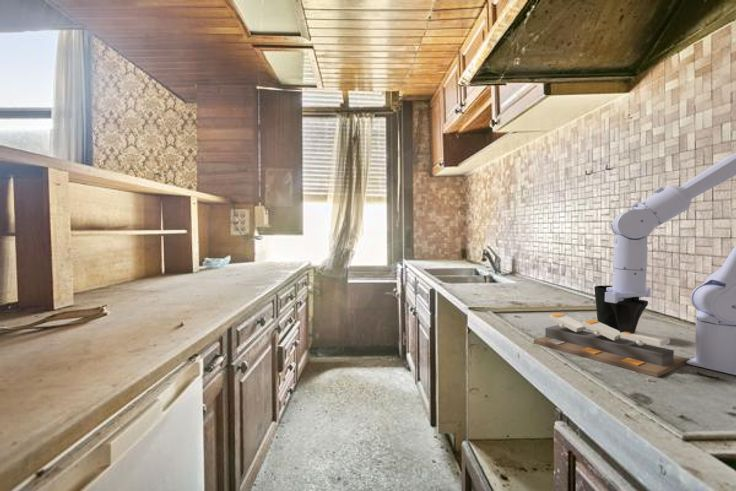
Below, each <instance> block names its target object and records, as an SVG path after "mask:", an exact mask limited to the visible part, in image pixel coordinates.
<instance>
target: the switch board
mask: <svg viewBox="0 0 736 491" xmlns="http://www.w3.org/2000/svg"><path fill="white" fill-rule="evenodd" d="M544 329H545V331H544V332H545V335H544V336H543V337H540V338H536V339H533V344H535V345H539V346H543V347H546V348H550V349H554V350H557V351H561V352H565V353H569V354H572V355H576V356H579V357H583V358H587V359H590V360H594V361H597V362H601V363H604V364H608V365H611V364H612V366H615V365H617V366H616V367H619V366H620V367H619V368H622V367H623V369H626V368H627V369H626V370H629V369H630V371H633V370H634V371H633V372H638V373H641V374H645V375H648V376H651V377H655V378H658V377H661V376H663V375H665V374H667V373H669V372H672V371H674V370H676V369H678V368H680V367H682V366H685V365H688V364H687V363H686V361H688V360H690V358H689V357H685V356H684V357H683V356H680V355H675V354H674V353H675V352H674V351H675V350H674V349H671V348H666V347H662V346H661V347H660V346H656V345H651V344H644V345H638V344H637V343H636V341H633V340H629V339H624V338H621V339H617V340H612V339H609V338H607V337H605V336H603V335H600V336H596V335H595V334H594V332H592V331H591V332H590V331H587V330H582V331H579V332H575V331H573V330H571V329H569V328H567V327H565V328H561V327H560V326H559V324H557V325H553V326H548V327H545V328H544Z"/></svg>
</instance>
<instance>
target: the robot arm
mask: <svg viewBox="0 0 736 491" xmlns="http://www.w3.org/2000/svg"><path fill="white" fill-rule="evenodd" d="M735 176H736V152H734V153H731V154H730V155H727V156H725V157H723V158H722V159H720V160H718V161H717V162H716V163H714V164H712V165H711V166H709V167H708V168H706V169H704V170H703V171H702V172H700V173H699V174H697V175H695V176H694V177H693V178H691V179H689V180H688V181H686V182H684V183H682V185H680V186H675V185H667V186H665V187H662V186H660V187H658V188H655V189H654V190H653V194H652V195H650V196H649V197H647V198H645V199H644V200H642V201H640V202H638V203H637V202H634V203H633V204H631V205H630V208H631V209H628V210H627V211H623V212H622V211H621V212H620V213H618V214H617V215H615V217H614V219H613V220H612V223H611V224H610V228H611V231H612V233H613V234H614V246H613V262H612V282H611V283H612V285H611V286H612V287H607V288H606V291H608V292H605V302H609V304H610V305H611V307H612V309H613V311H614V313H615V315H616V319H617V323H618V327H619V331H620V333H621V332H629V333H631V334H632V333H635V331H637V326H638V324H639V321H640V318H641V316H642V314H643V312H644V311H645V309H646V308H647V307H648V304H649V300H644V299H640V298H650V297H651V287H647V271H648V270H647V269H648V236H650V235H651V233H652V232H653V230H654V228H658V227H659V226H661V225H663V224H664V223H666V222H668V221H670V220H671V219H674V218H675V217H677V216H679V215H680V214H682V213H684V212H686V211H687V210H688V209H690V207H691V204H692V200H693V199H694V198H696V197H698V196H699V195H702V194H704V193H705V192H707V191H709V190H711V189H713V188H714V187H716V186H719V185H720V184H723V183H724V182H725V181H727V180H730V179H731V178H733V177H735ZM690 301H691V304H692V306H693V307H694V308H695V309H696V310H697V312H696V314H695V334H694V335H695V336H694V338H695V344H694V345H695V347H694V352H695V353H694V357H692V358H691V359H690V358H689V359H690V360H688V361H686V363H687V364H686V365H691V366H696V367H700V368H703V369H707V370H708V369H709V370H712V371H716V372H721V373H725V374H729V375H733V376H736V244H735V245H734V247H733V248H732V250H731V252H730V253H729V254H728V256H727V258H726V259H725V260H724V263H722V266H721V267H720V268H719V269H717V270H715V271H714V272H713V273H711V274H710V275H709V276H707V279H706V280H705V281H704V282H703V283H702V284H699V285H697V286H696V287H695V288H694V289H693V290H692V292H691V294H690Z"/></svg>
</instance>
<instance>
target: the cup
mask: <svg viewBox="0 0 736 491" xmlns="http://www.w3.org/2000/svg"><path fill="white" fill-rule="evenodd" d="M607 287H612V285H595V286H594V287H593V288H594V289H593V290H594V299H595V308H596V317H597V319H596V320H597V321H599V322H600V323H603V324H605V325H607V326H609V327H612V328H614V329H616V330H618V331H619V327H618V323H617V319H616V315H615V313H614V311H613V309H612V307H611V305H610V304H609V302H605V292H608V291H606V288H607Z"/></svg>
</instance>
